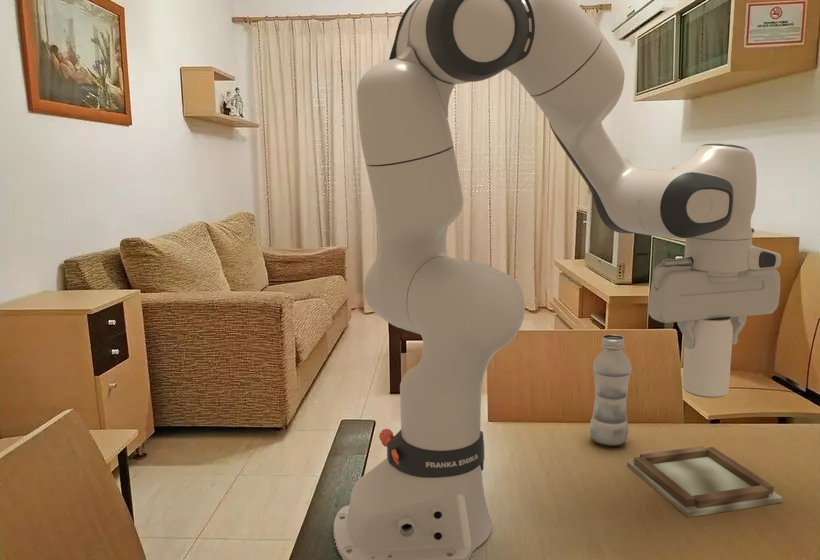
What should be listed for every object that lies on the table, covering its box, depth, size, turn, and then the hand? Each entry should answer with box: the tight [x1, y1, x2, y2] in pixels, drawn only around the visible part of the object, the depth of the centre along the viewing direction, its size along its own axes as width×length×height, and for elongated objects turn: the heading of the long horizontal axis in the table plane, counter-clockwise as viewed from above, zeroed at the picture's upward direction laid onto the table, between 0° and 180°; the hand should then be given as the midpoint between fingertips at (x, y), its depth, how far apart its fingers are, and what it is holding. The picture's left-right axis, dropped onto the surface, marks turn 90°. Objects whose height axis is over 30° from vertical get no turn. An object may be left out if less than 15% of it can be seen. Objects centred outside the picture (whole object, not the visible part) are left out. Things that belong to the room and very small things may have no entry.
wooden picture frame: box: [626, 445, 783, 518], centre depth 99 cm, size 16×16×2 cm
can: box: [682, 317, 733, 399], centre depth 95 cm, size 6×6×12 cm
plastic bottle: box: [589, 334, 633, 447], centre depth 112 cm, size 6×7×20 cm
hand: (710, 345), depth 95 cm, fingers closed on can, 5 cm apart
